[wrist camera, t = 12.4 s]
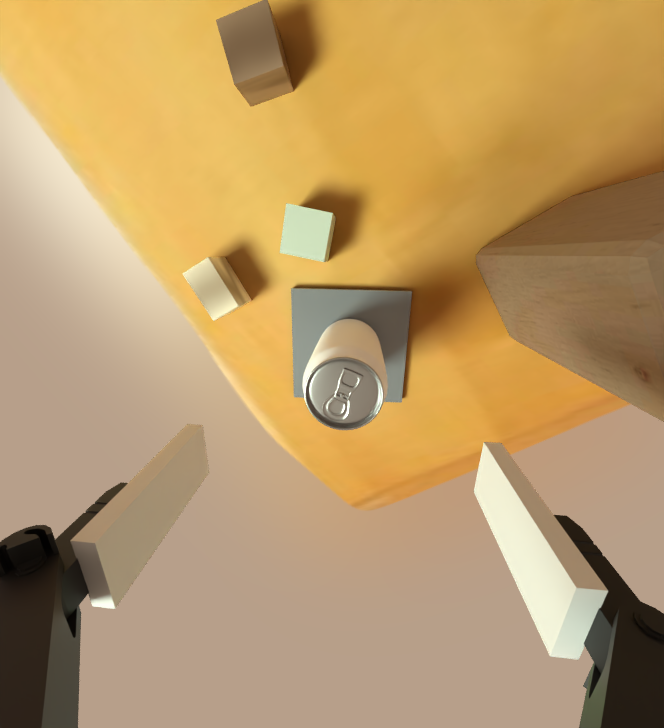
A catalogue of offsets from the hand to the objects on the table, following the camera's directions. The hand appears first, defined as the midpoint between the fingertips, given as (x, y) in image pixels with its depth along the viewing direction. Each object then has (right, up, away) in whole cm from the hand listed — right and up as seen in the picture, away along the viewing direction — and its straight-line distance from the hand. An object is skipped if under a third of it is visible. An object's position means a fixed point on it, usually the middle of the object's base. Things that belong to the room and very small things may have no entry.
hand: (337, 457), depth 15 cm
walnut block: (-6, +29, +12) cm, 32 cm away
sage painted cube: (-2, +17, +16) cm, 24 cm away
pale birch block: (-11, +13, +19) cm, 25 cm away
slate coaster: (+2, +6, +19) cm, 21 cm away
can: (+2, +6, +19) cm, 20 cm away
